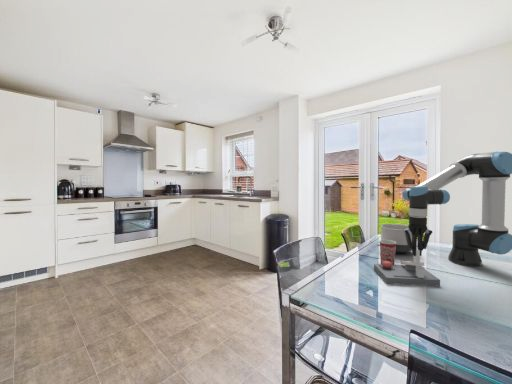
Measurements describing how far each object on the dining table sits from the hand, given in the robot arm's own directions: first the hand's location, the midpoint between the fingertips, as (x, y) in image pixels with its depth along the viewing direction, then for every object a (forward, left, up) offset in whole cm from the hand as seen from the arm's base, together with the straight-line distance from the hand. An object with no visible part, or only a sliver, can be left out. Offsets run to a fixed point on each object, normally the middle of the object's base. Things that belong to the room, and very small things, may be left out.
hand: (416, 261), depth 119 cm
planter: (-9, -45, -9) cm, 46 cm away
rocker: (0, -5, -3) cm, 6 cm away
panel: (+5, -2, -9) cm, 10 cm away
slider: (+1, +5, -6) cm, 8 cm away
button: (+12, -6, -5) cm, 14 cm away
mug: (+5, -22, -9) cm, 24 cm away
